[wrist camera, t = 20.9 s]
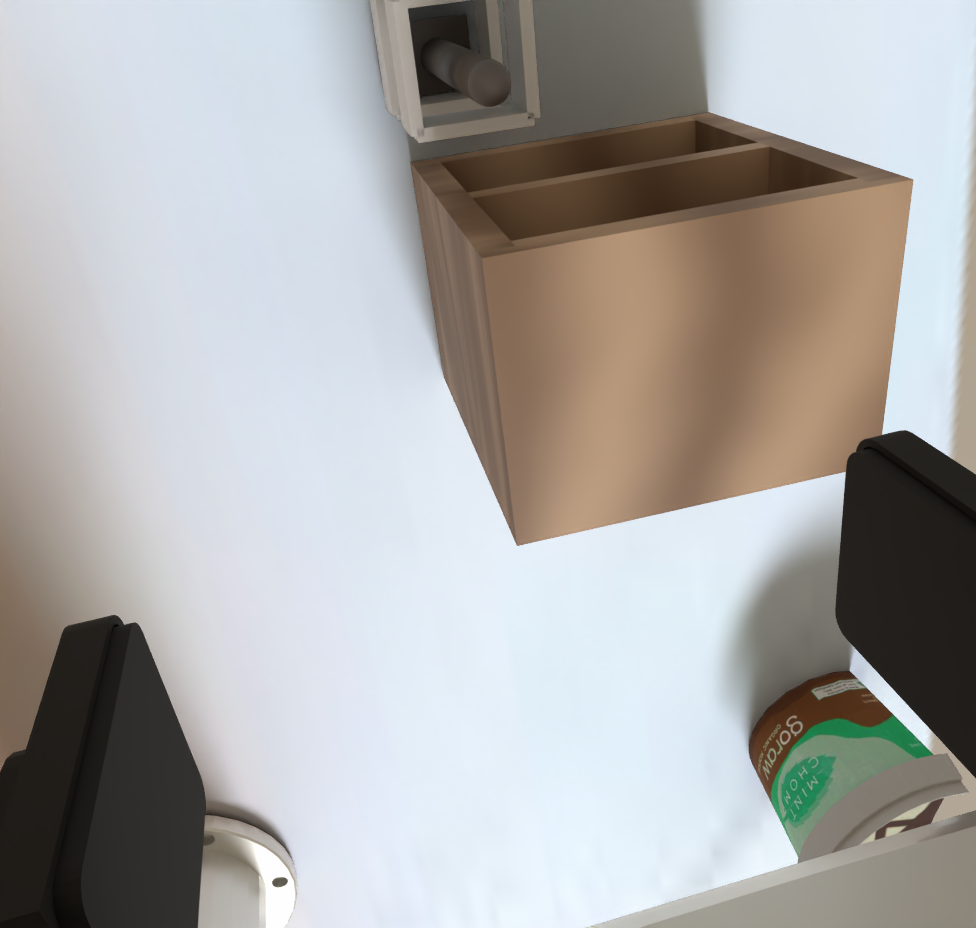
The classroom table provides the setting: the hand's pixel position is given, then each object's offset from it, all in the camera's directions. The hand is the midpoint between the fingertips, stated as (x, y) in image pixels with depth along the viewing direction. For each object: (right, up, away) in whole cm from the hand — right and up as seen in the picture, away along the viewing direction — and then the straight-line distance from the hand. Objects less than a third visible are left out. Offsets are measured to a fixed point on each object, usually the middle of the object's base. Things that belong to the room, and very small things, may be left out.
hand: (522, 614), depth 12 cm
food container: (+17, -14, +43) cm, 48 cm away
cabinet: (+3, +13, +24) cm, 27 cm away
